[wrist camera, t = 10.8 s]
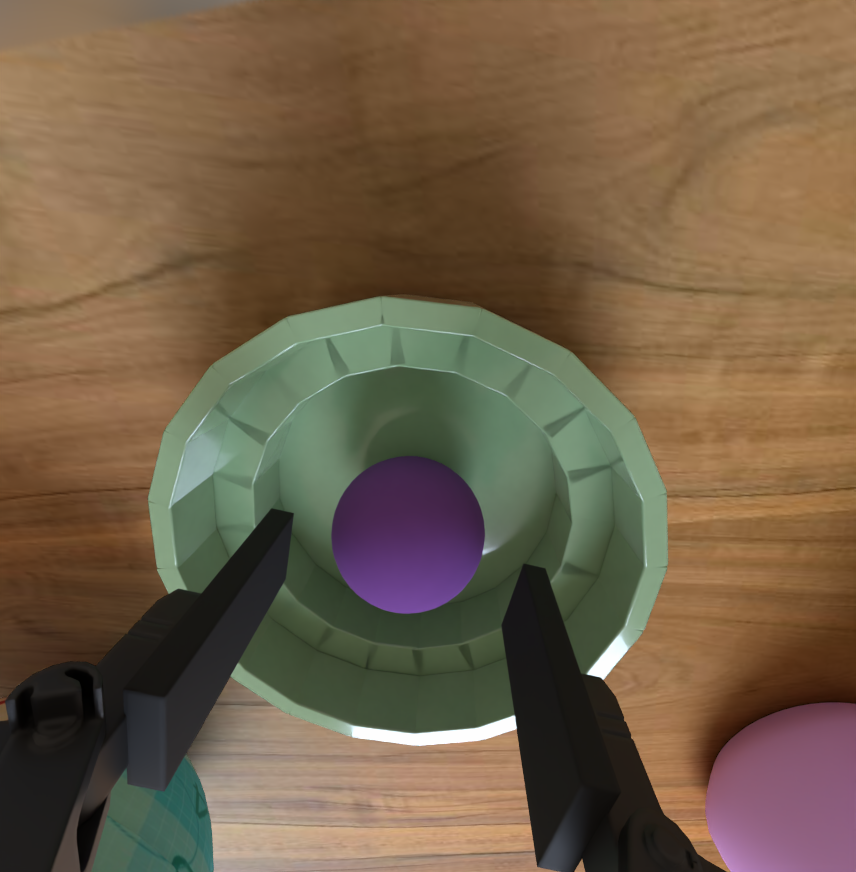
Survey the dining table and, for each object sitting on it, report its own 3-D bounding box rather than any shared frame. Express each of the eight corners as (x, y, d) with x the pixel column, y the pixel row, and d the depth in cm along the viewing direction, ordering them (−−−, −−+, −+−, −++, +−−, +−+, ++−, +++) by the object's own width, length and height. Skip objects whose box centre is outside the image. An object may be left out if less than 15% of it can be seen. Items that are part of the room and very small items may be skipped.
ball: (409, 407, 18) (390, 462, 12) (506, 494, 19) (531, 581, 13) (325, 497, 19) (274, 582, 14) (419, 571, 21) (407, 678, 15)
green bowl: (398, 195, 16) (368, 143, 10) (683, 484, 19) (781, 566, 13) (168, 493, 21) (63, 569, 15) (427, 681, 24) (420, 801, 18)
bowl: (251, 872, 31) (166, 1120, 22) (-46, 791, 30) (-273, 1020, 21) (325, 668, 24) (244, 910, 15) (-65, 548, 23) (-432, 732, 13)
